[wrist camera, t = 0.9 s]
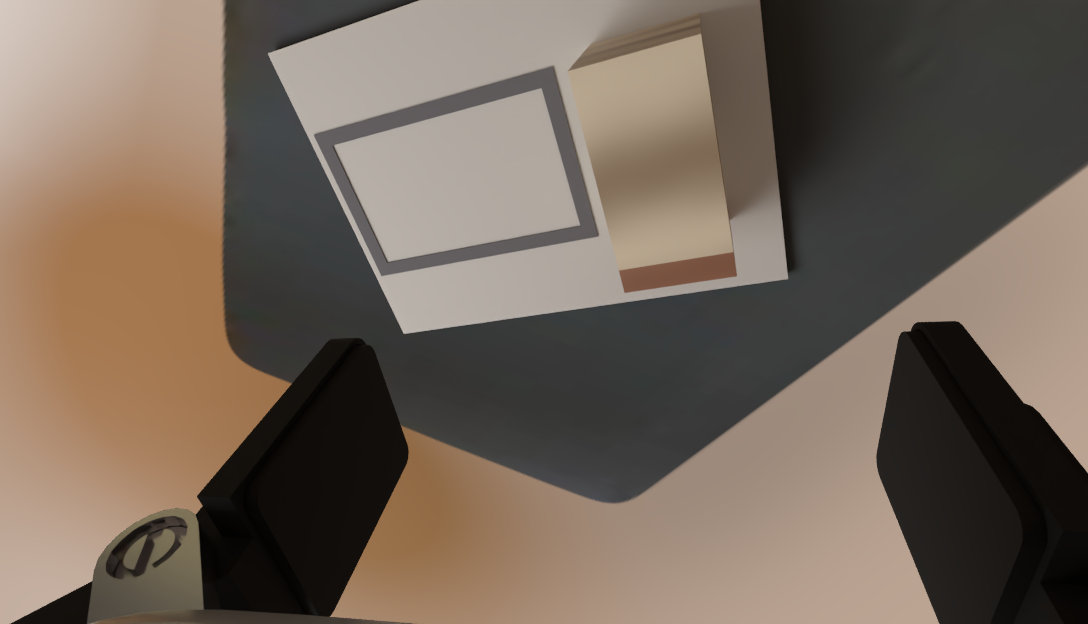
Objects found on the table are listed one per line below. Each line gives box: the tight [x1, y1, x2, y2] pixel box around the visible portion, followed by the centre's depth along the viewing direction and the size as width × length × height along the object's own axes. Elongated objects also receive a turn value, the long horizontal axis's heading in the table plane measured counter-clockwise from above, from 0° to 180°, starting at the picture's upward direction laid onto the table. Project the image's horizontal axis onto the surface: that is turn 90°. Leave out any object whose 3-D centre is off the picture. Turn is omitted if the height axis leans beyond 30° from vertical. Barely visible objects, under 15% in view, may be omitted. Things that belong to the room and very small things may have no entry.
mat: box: [268, 0, 788, 334], centre depth 32 cm, size 24×18×1 cm
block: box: [567, 13, 737, 293], centre depth 27 cm, size 10×5×6 cm, turn 17°
